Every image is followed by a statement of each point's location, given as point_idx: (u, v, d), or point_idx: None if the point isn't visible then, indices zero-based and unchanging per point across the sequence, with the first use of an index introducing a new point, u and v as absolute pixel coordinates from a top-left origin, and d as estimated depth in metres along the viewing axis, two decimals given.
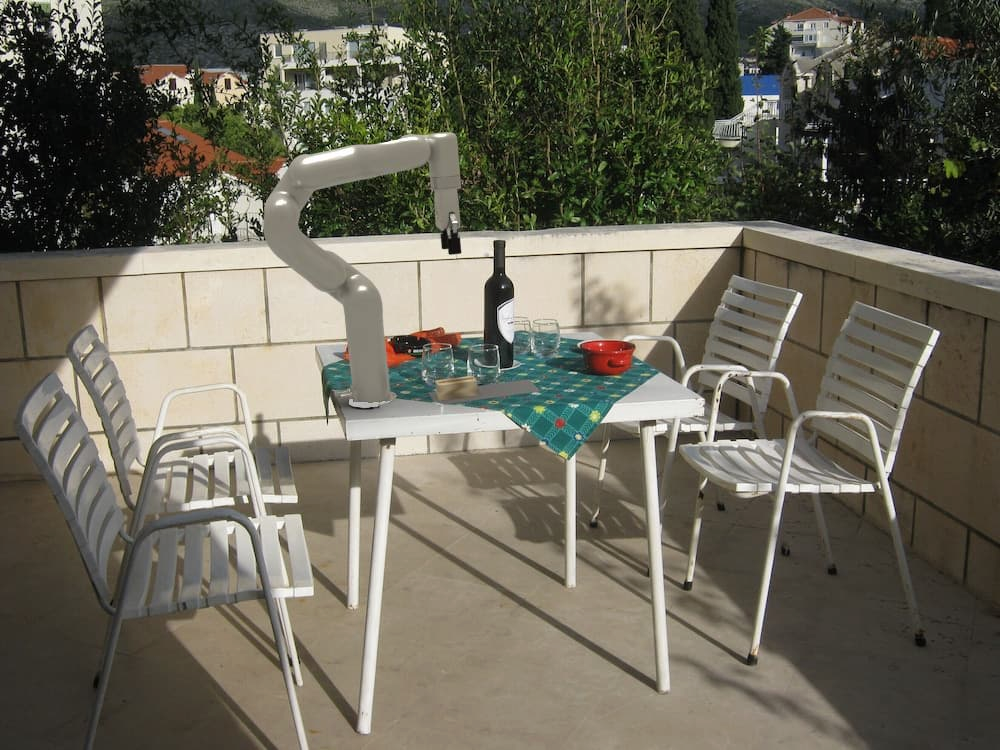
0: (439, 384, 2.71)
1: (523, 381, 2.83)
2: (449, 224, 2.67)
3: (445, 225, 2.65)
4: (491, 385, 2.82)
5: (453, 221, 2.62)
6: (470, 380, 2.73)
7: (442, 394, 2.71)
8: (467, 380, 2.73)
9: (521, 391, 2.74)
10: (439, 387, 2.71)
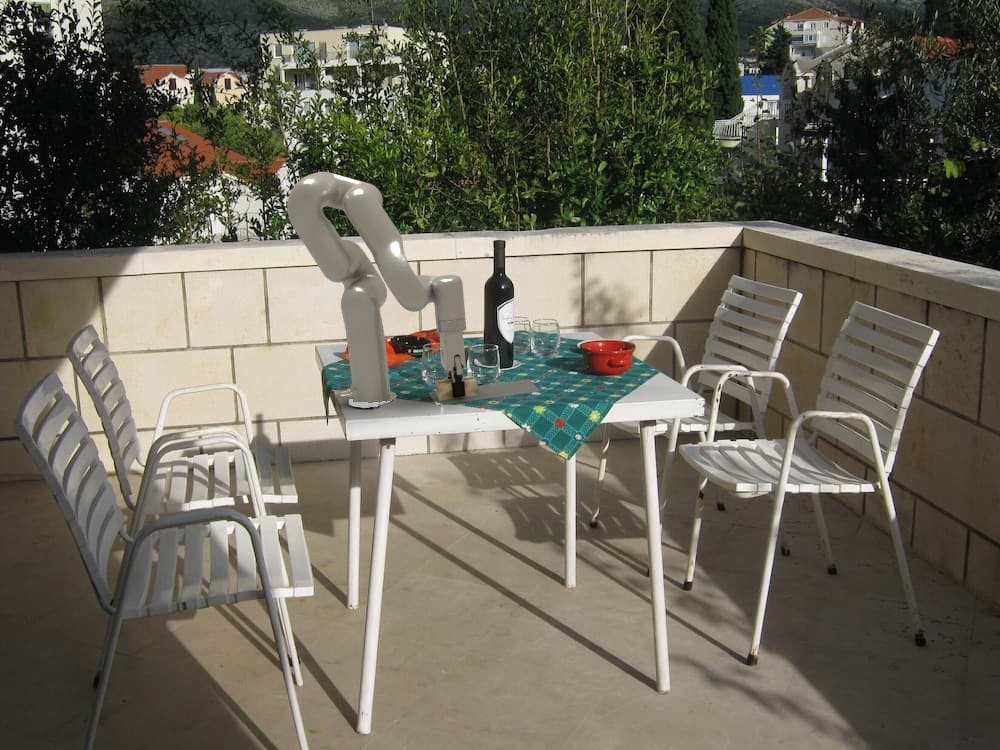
0: (439, 384, 2.71)
1: (523, 381, 2.83)
2: (454, 365, 2.69)
3: (450, 367, 2.67)
4: (491, 385, 2.82)
5: (458, 371, 2.66)
6: (470, 380, 2.73)
7: (442, 394, 2.71)
8: (467, 380, 2.73)
9: (521, 391, 2.74)
10: (439, 387, 2.71)
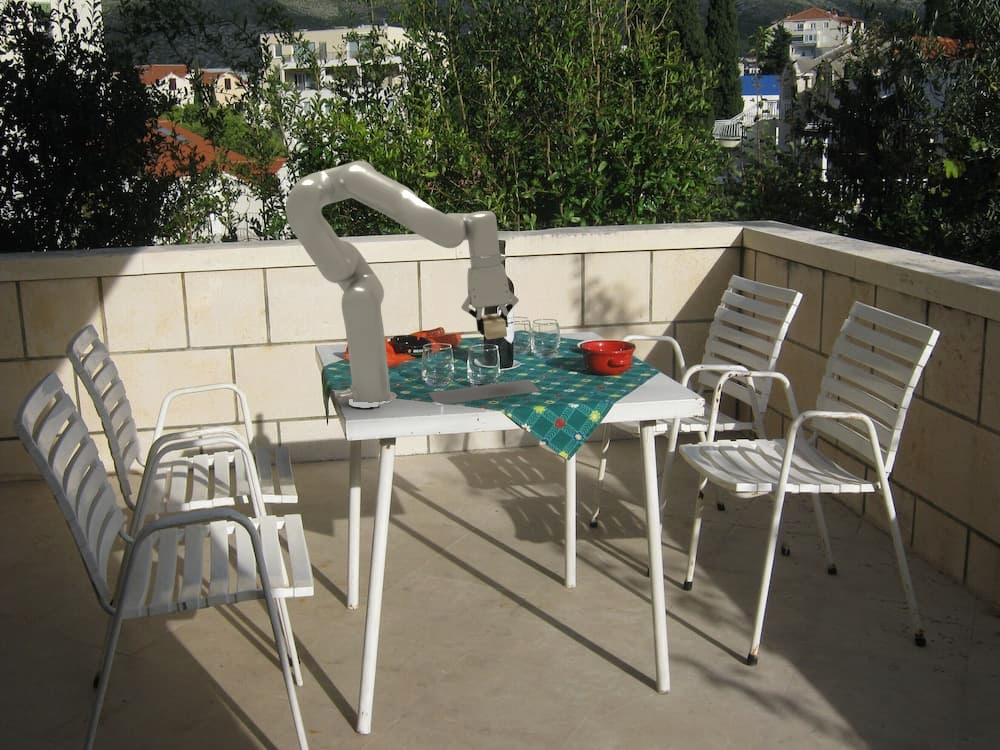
0: (481, 316, 2.76)
1: (523, 381, 2.83)
2: None
3: None
4: (491, 385, 2.82)
5: (462, 305, 2.70)
6: (488, 322, 2.68)
7: None
8: (488, 321, 2.69)
9: (521, 391, 2.74)
10: None
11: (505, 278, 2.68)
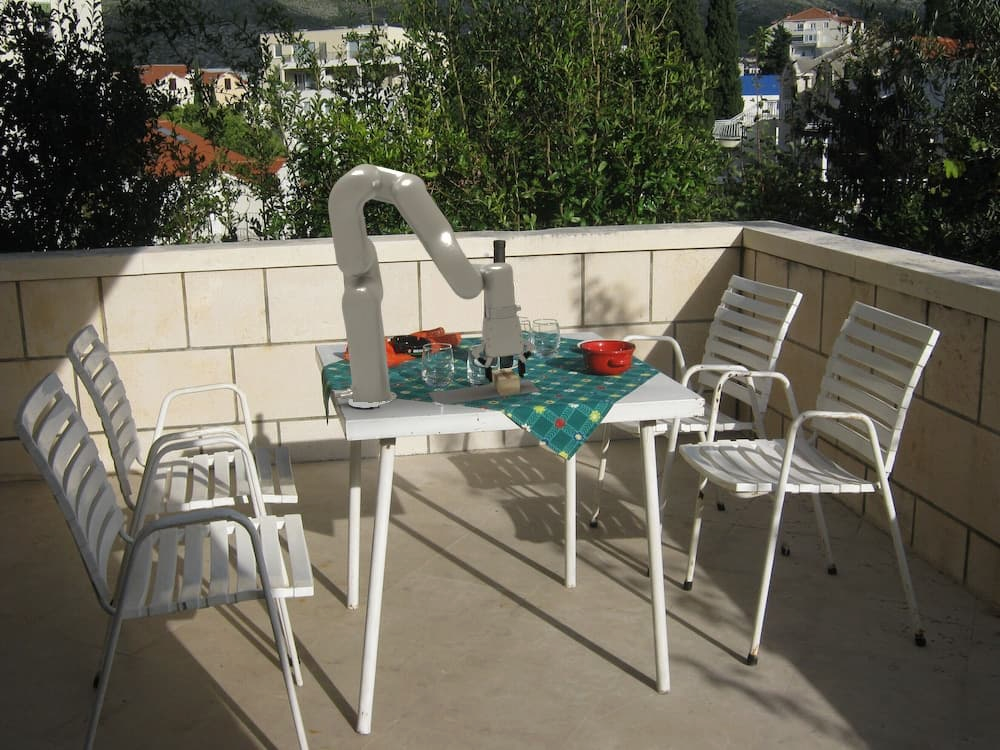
0: (495, 370, 2.80)
1: (523, 381, 2.83)
2: None
3: None
4: (491, 385, 2.82)
5: (473, 351, 2.73)
6: (501, 378, 2.73)
7: None
8: (502, 377, 2.73)
9: (521, 391, 2.74)
10: None
11: (519, 329, 2.72)
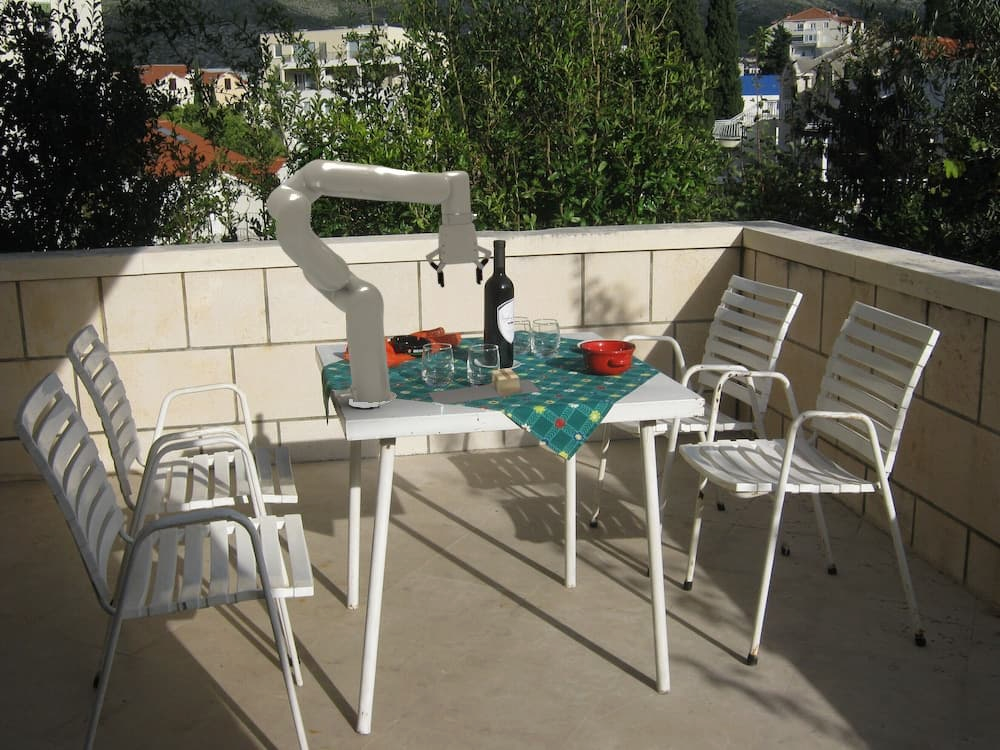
0: (495, 370, 2.80)
1: (523, 381, 2.83)
2: None
3: None
4: (491, 385, 2.82)
5: None
6: (501, 378, 2.73)
7: (492, 380, 2.80)
8: (502, 377, 2.73)
9: (521, 391, 2.74)
10: None
11: (474, 237, 2.77)
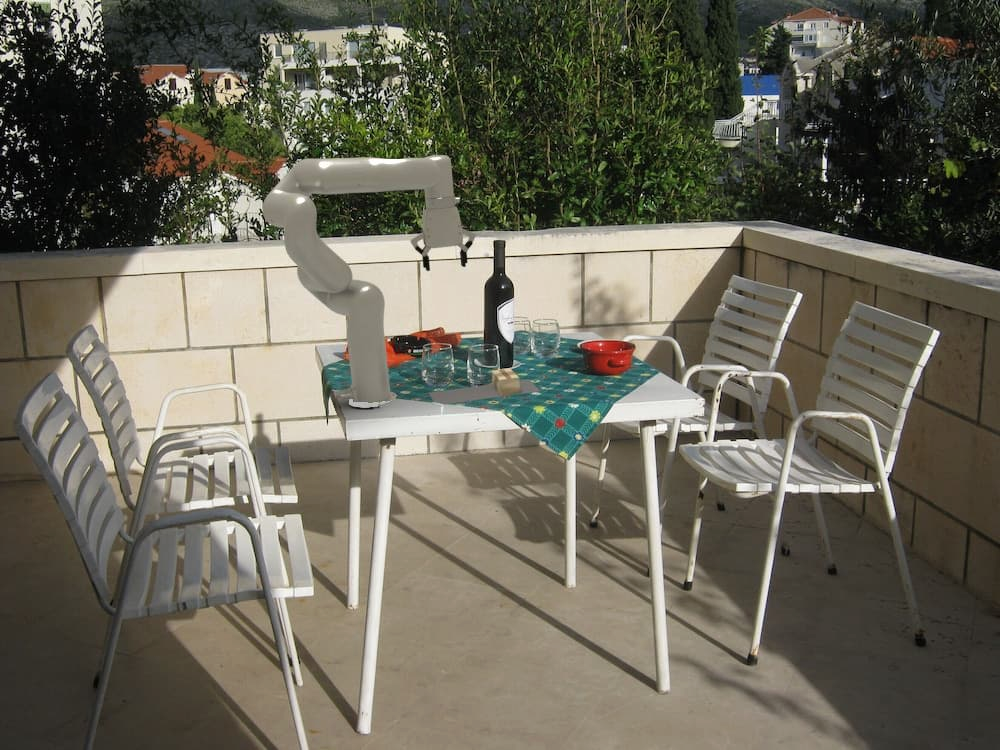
0: (495, 370, 2.80)
1: (523, 381, 2.83)
2: None
3: (423, 241, 2.84)
4: (491, 385, 2.82)
5: (412, 239, 2.82)
6: (501, 378, 2.73)
7: (492, 380, 2.80)
8: (502, 377, 2.73)
9: (521, 391, 2.74)
10: None
11: (458, 220, 2.81)
